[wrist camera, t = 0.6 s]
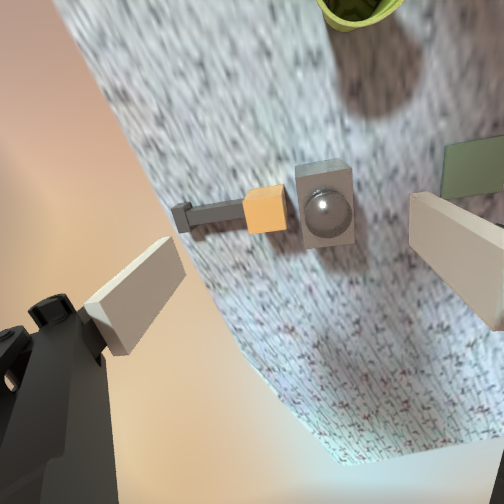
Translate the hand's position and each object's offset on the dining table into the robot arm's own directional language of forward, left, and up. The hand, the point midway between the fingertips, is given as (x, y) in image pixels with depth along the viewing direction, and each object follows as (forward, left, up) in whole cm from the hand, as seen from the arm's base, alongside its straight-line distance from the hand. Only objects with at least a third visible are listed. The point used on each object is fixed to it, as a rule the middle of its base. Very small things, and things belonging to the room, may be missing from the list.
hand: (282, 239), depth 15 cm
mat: (+4, +23, -26) cm, 35 cm away
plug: (+4, -10, -26) cm, 28 cm away
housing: (+4, +4, -26) cm, 26 cm away
